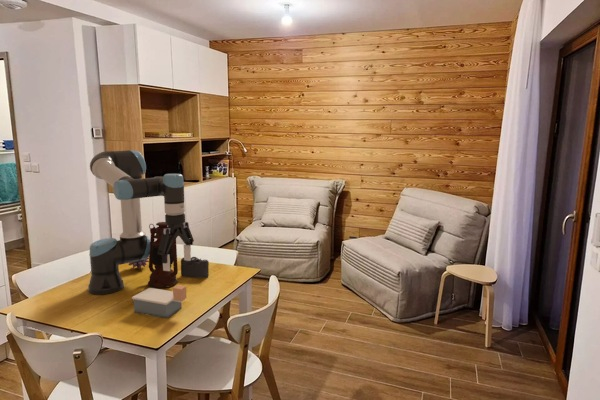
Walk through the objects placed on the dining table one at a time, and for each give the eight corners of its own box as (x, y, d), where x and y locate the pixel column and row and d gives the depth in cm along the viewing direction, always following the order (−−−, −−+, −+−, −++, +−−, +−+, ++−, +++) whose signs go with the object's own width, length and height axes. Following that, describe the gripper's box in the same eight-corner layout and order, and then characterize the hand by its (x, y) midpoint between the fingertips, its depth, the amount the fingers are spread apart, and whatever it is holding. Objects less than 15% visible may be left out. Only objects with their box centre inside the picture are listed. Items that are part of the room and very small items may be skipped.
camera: (213, 271, 217) (212, 253, 215) (206, 278, 206) (206, 260, 205) (187, 270, 218) (186, 252, 216) (179, 277, 207) (178, 259, 206)
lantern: (138, 284, 195) (138, 223, 192) (158, 276, 208) (158, 218, 205) (167, 290, 189) (168, 227, 185) (186, 281, 202) (187, 222, 198)
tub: (134, 312, 168) (133, 298, 167) (150, 302, 177) (149, 289, 176) (166, 318, 163) (166, 304, 162) (181, 308, 172) (181, 294, 171)
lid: (132, 301, 167) (131, 285, 165) (149, 292, 177) (148, 276, 175) (176, 309, 160) (175, 292, 159) (191, 298, 170) (191, 283, 169)
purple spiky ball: (145, 272, 214) (144, 250, 212) (123, 272, 214) (121, 250, 212) (153, 265, 225) (152, 244, 223) (132, 265, 226) (131, 244, 224)
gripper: (162, 220, 146) (165, 276, 150) (201, 208, 169) (202, 257, 173) (145, 218, 148) (148, 274, 152) (185, 207, 172) (187, 255, 175)
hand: (177, 265), depth 162 cm, fingers open, 13 cm apart
